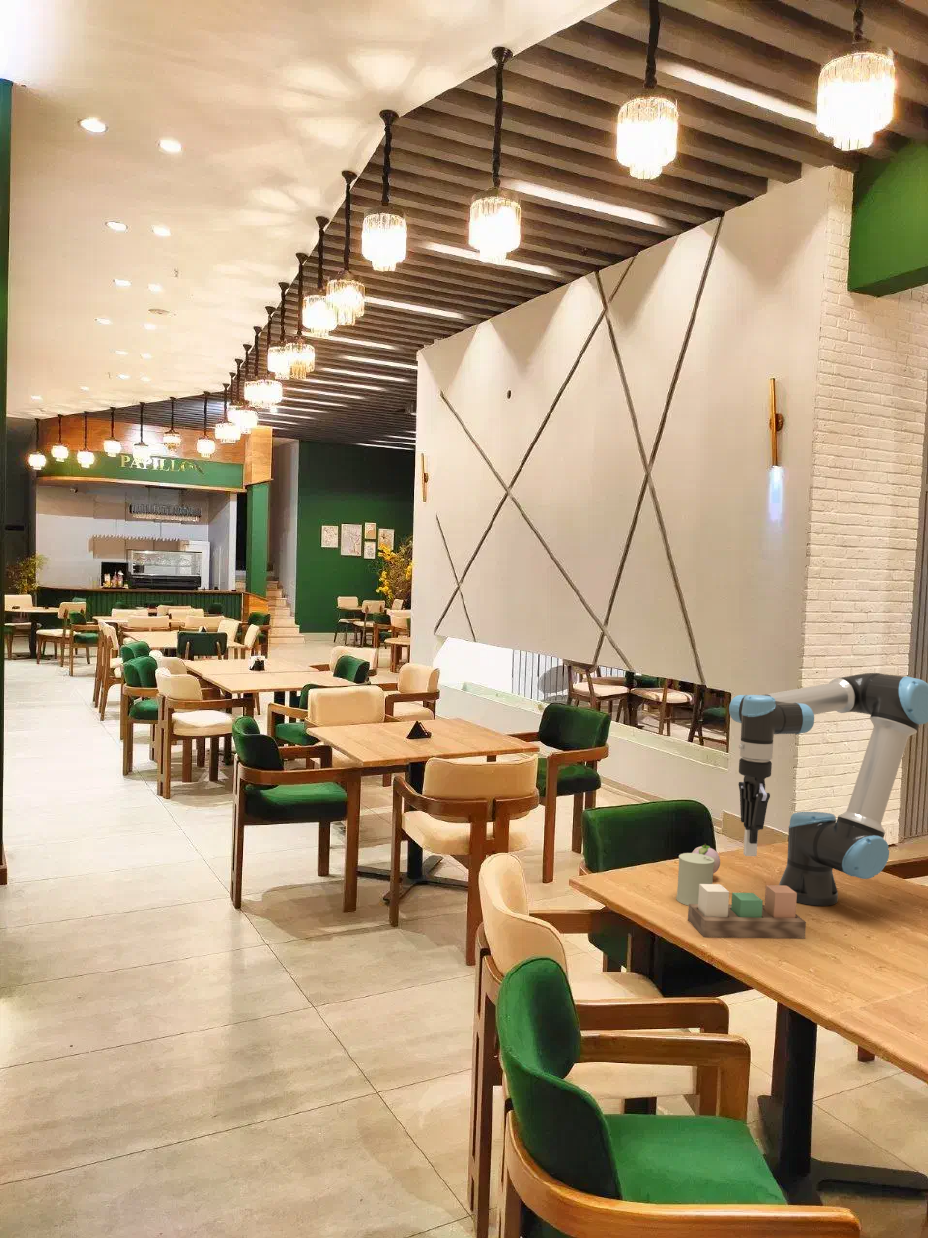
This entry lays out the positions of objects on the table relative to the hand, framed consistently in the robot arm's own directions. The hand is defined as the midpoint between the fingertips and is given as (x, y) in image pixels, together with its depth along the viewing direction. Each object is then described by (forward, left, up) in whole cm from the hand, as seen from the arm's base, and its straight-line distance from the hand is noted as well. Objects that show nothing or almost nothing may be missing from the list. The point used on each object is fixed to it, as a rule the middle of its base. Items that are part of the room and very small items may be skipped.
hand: (750, 855), depth 215 cm
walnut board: (0, 0, -18) cm, 18 cm away
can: (+6, -19, -18) cm, 27 cm away
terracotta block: (-8, 0, -15) cm, 17 cm away
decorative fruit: (-4, -38, -18) cm, 42 cm away
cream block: (+9, 0, -15) cm, 17 cm away
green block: (0, 0, -17) cm, 17 cm away
